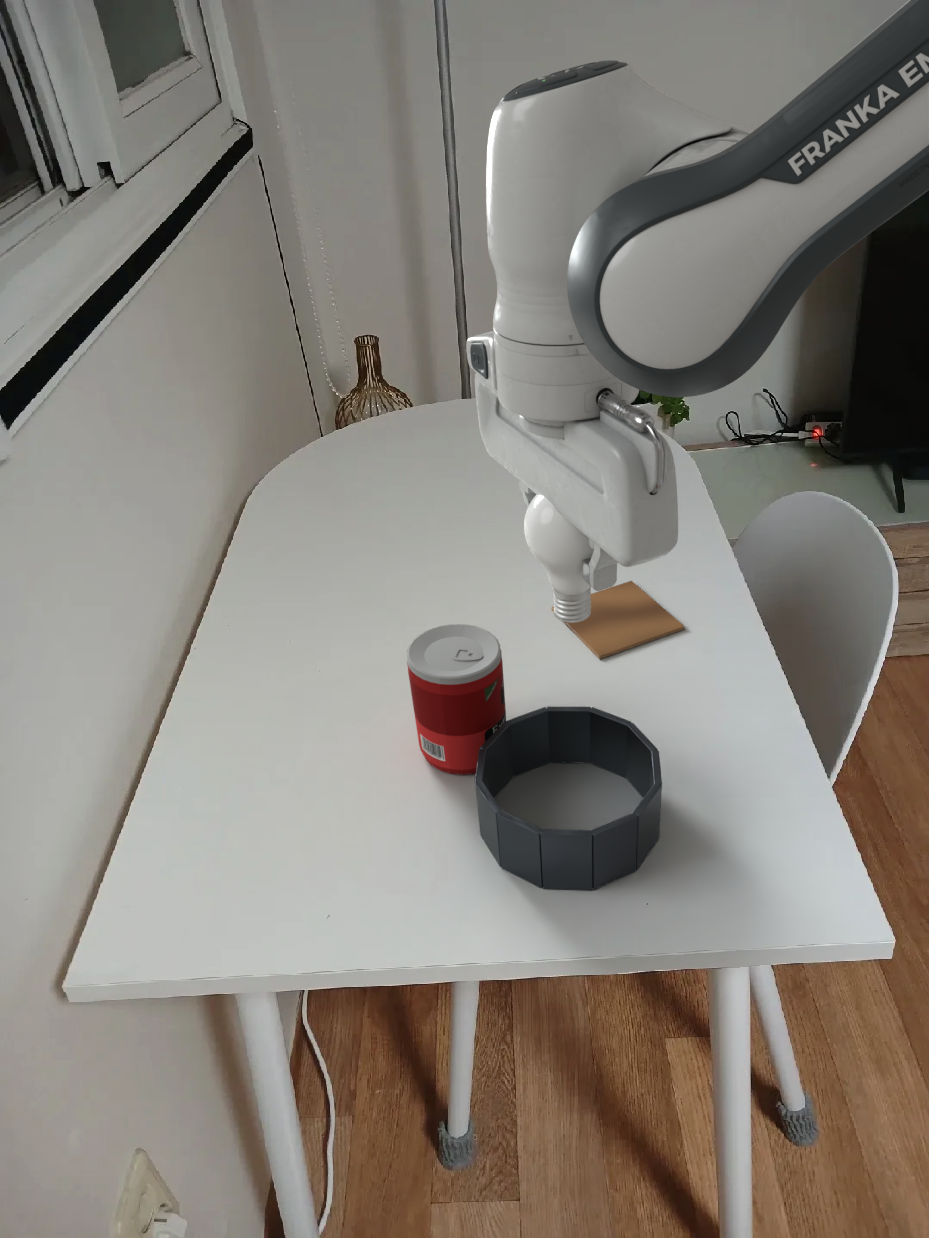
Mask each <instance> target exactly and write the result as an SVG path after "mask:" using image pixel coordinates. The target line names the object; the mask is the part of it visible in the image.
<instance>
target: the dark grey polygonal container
mask: <svg viewBox="0 0 929 1238" xmlns="http://www.w3.org/2000/svg"><path fill="white" fill-rule="evenodd" d="M547 764H591V765H592V766H595V767H597V768H600V769H603V770H605V771H607V772H610V773H612V774H614V775H617V776H620V777H622V778H625V779H626V780H627V781H628V782H629V784H631V786H632V787H633V788H634V789H635V790H636V792H637V793H638V795H640V796H641V797H642V799H641V800H640V802H639V803H638V804H637V805H636V807H635V809H634V810H633V811H632V812H631V813H628V814H626V815H624V816H621V817H619V818H616V819H613V820H612V821H609V822H606V823H605V824H602V825H599V826H597V827H595V828H592V829H566V828H564V829H563V828H541V827H539V826H537V825H535V824H533V823H531V822H528V821H526V820H524V819H522V818H520V817H518V816H516V815H513V814H511V813H510V812H507V811H505V810H503V809H502V808H501V806H500V804H499V803H498V801H496V799H495V798H496V797H497V796H498V795H499V794H500V792H502V790H503V789H504V788H505V787H506V786H507V785H508V784H509V782H510V781H511V780H512V779H513V778H514V777H516V776H519V775H522V774H524V773H528V772H529V771H532V770H534V769H537V768H540V767H542V766H545V765H547ZM662 779H663V778H662V769H661V757H660V750H659V749H658V748H657V747H656V746H655V745H654V744H653V743H652V741H651V740H650V739H649V738H648V737H647V736H646V735H645V734H644V733H643V732H642V731H641V730H640V728H639V727H638V726H637V725H636V724H635V723H634V722H632V721H631V720H629V719H626V718H623V717H620V716H618V715H615V714H612V713H611V712H607V711H604V710H602V709H599V708H596V707H594V706H551V705H549V706H543V707H541V708H538V709H535V710H533V711H529V712H526V713H524V714H521V715H519V716H516V717H513V718H510V719H506V722H504V723H503V724H502V725H501V726H500V727H499V728H498V729H497V731H496V732H495V733H494V734H493V735H492V736H491V737H490V738H489V739H488V740H487V741H486V742H485V743H484V744H483V745H482V746H481V747H480V749H479V753H478V761H477V768H476V773H475V776H474V786H475V787H474V788H475V797H476V798H475V799H476V806H477V807H476V808H477V817H478V826H479V834H480V838H481V839H482V840H483V842H484V843H485V845H486V847H487V848H488V850H489V852H490V853H491V856H492V857H493V858H494V860H495V861H496V863H497V864H498V866H499V867H500V868H501V869H502V870H504V871H506V872H507V873H510V874H512V875H513V876H515V877H518V878H520V879H521V880H524V881H525V882H527V883H530V884H532V885H534V886H536V887H537V888H540V889H543V890H563V891H596V890H598V889H600V888H602V887H604V886H607V885H609V884H611V883H613V882H616V881H618V880H620V879H623V878H625V877H627V876H630V875H632V874H634V873H636V872H637V871H638V870H639V869H640V867H641V866H642V864H643V863H644V861H645V860H646V859H647V857H648V856H649V854H650V853H651V851H652V850H653V849H654V847H655V846H656V845H657V843H658V841H659V839H660V831H661V830H660V828H661V811H662V810H661V809H662V795H663V794H662V792H663V780H662Z"/></svg>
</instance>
